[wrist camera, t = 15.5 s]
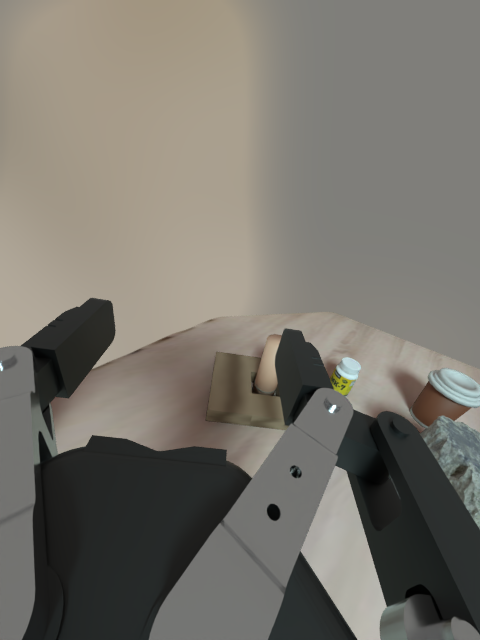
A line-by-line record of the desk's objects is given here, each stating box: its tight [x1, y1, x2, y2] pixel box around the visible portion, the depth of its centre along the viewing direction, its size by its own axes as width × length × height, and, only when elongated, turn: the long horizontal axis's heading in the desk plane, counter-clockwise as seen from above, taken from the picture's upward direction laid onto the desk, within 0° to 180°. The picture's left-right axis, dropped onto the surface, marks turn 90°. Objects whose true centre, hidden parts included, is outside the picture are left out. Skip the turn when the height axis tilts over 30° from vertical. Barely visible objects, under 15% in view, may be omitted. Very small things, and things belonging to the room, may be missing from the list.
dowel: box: [252, 334, 282, 396], centre depth 47 cm, size 5×5×14 cm
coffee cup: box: [410, 368, 480, 428], centre depth 50 cm, size 9×9×12 cm
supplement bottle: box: [330, 358, 361, 397], centre depth 53 cm, size 5×5×8 cm
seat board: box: [206, 352, 289, 430], centre depth 50 cm, size 22×16×3 cm
